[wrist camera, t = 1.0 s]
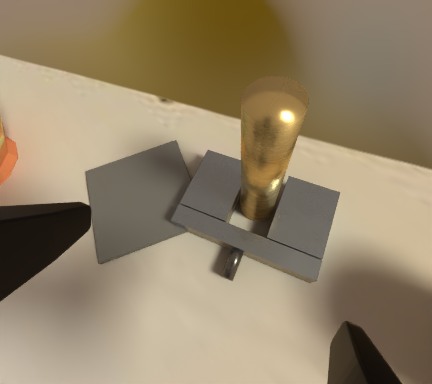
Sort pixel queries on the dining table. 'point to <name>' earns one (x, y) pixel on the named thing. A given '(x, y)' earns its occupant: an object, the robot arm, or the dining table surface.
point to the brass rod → (268, 140)
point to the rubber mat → (136, 200)
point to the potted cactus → (6, 155)
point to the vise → (280, 228)
